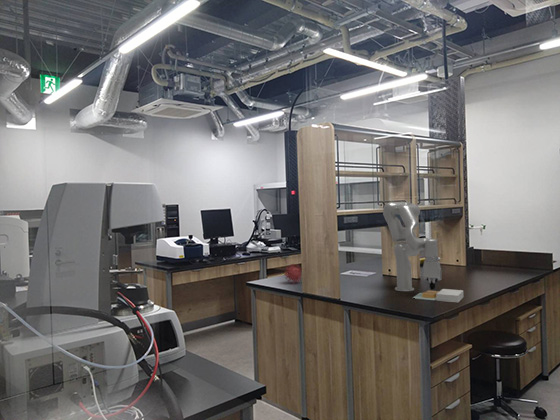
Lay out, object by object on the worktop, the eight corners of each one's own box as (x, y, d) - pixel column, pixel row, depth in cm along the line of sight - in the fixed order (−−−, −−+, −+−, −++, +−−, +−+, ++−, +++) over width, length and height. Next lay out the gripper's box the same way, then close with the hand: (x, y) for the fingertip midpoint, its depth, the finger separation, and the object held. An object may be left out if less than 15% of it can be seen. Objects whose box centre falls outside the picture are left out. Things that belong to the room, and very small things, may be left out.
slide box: (428, 294, 260) (428, 290, 260) (439, 295, 255) (439, 291, 255) (422, 297, 252) (422, 293, 252) (433, 298, 248) (433, 294, 248)
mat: (419, 293, 265) (419, 292, 265) (441, 295, 258) (441, 294, 258) (412, 298, 252) (412, 297, 252) (434, 300, 244) (434, 299, 244)
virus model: (282, 284, 311) (281, 265, 311) (287, 281, 326) (286, 262, 325) (301, 285, 307) (300, 265, 307) (305, 281, 322) (305, 262, 322)
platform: (442, 295, 257) (442, 288, 257) (463, 297, 250) (463, 290, 250) (436, 300, 244) (436, 293, 244) (458, 302, 237) (458, 295, 237)
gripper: (445, 259, 251) (446, 289, 252) (420, 258, 260) (421, 287, 260) (442, 260, 245) (444, 291, 245) (417, 259, 254) (418, 289, 254)
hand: (432, 289), depth 253 cm, fingers closed
